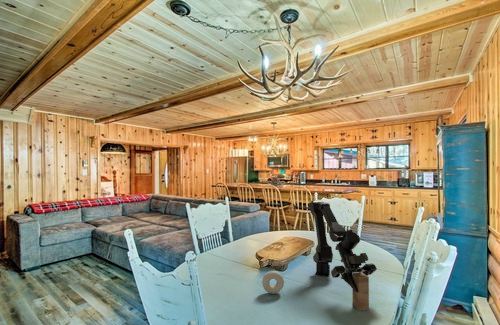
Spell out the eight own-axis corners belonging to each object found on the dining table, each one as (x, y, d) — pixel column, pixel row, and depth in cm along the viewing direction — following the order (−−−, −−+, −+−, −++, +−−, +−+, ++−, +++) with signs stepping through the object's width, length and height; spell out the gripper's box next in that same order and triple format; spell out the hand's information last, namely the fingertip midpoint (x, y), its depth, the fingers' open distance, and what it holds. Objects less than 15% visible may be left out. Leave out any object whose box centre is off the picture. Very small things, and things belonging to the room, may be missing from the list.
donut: (283, 291, 113) (283, 269, 114) (284, 295, 110) (284, 272, 110) (261, 291, 113) (261, 269, 113) (262, 295, 109) (262, 272, 110)
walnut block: (352, 304, 102) (352, 273, 103) (362, 303, 103) (361, 272, 103) (359, 310, 98) (358, 277, 98) (368, 309, 99) (368, 276, 99)
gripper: (334, 247, 103) (349, 285, 92) (373, 244, 107) (393, 281, 96) (325, 259, 111) (338, 296, 100) (362, 256, 114) (379, 292, 103)
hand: (362, 291), depth 99 cm, fingers closed on walnut block, 4 cm apart
